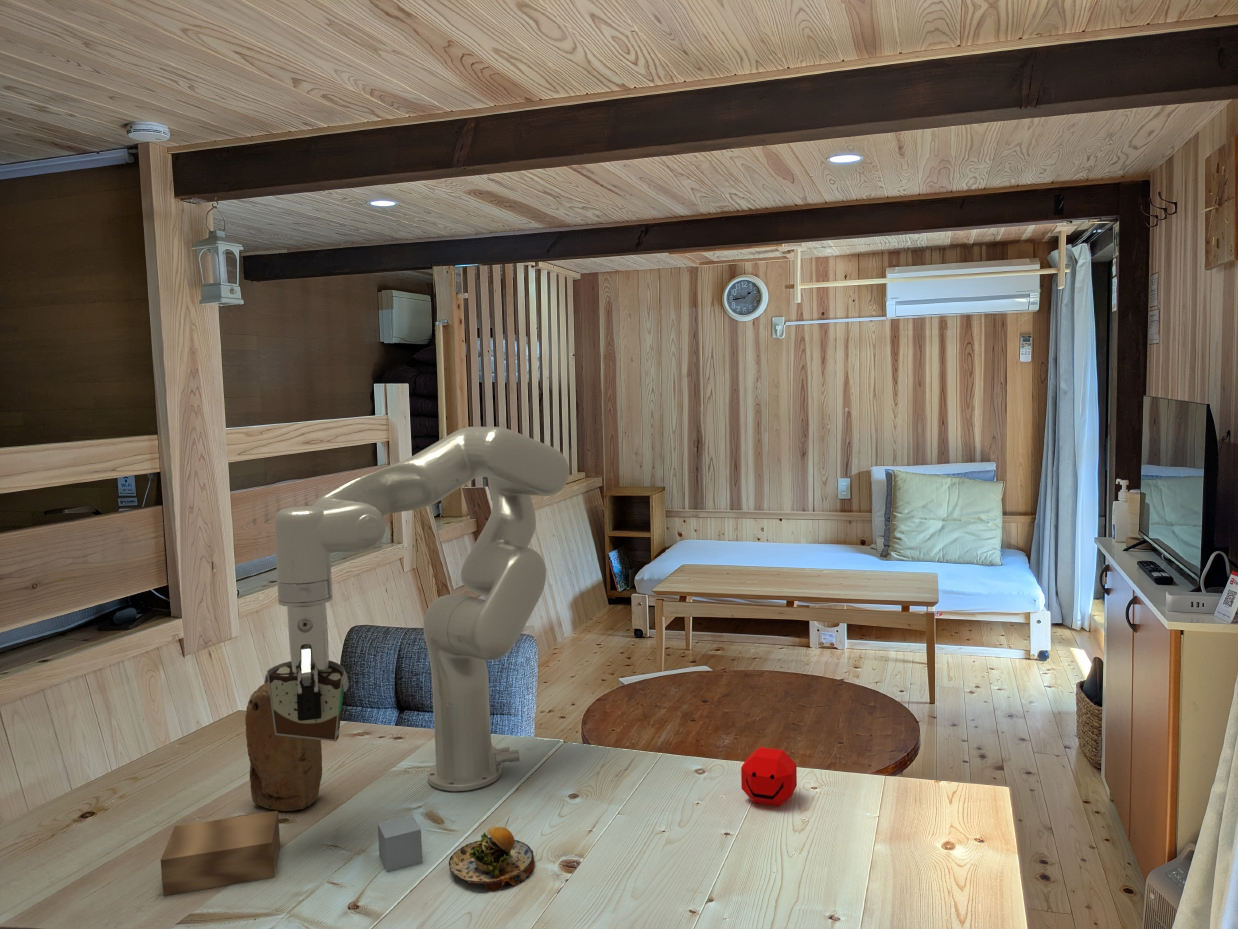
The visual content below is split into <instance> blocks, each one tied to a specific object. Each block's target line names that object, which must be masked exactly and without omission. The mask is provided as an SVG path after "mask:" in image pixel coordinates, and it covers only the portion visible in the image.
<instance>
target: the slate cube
mask: <svg viewBox="0 0 1238 929" xmlns="http://www.w3.org/2000/svg"><path fill="white" fill-rule="evenodd" d="M377 837H378V839H377V840H378V855H379V858H380V860H381V862H382V864H383V867H384V869H385V871H386V873H389V872H392V871H397V870H401V869H404V868H408V867H412V866H416V865H420V864H423V863H424V861H423V846H422V845H423V844H422V842H423V841H422V829H421V827H420V825H419V824H418V822H417V820H416V819H415V817H414V816H413V814H411V815H405V816H402V817H398V818H394V819H393V818H392V819H389V820H385V821H380V822H377Z"/></svg>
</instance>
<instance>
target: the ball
mask: <svg viewBox="0 0 1238 929" xmlns="http://www.w3.org/2000/svg"><path fill="white" fill-rule="evenodd" d="M797 772H798V771H797V763H796V762H795V761H794V760H793V759H792V758H791V756H790V755H788V753H787V752H785V750H783V749H777V748H769V747H758V748H756V750H754V751H753V752H752V753H751V754H750V755H749V756H748V757H747V758H746V759H745V761H744V762H743V764H742V766H741V767H740V776H741V778H740V780H741V790H742V791H743V792H744V794H745V795H746V796H747V797H748V798H749V799H750V800H751V801H752V802H753V803H754V804H756V805H763V806H772V807H781V806H782V805H783V804H784V803H785V802H787V801H788V800H789V799H790V798H791V797H792V796H793V794H794V792H795V791H796V789H797V785H798V783H797V782H798V776H797Z"/></svg>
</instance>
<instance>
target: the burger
mask: <svg viewBox="0 0 1238 929" xmlns="http://www.w3.org/2000/svg"><path fill="white" fill-rule="evenodd" d="M509 818H510V817H508V819H507V821H506V823H505V826H491V827H489V828H488V829H487V830H486V832H484V831H483V833H482V835H480V837H481V839H480V840H475V841H473V842H469V843H467V844H465V845H464V846H461V847H460V848H458V849H457V850H456V851H455V852H453V854H452V855H451V856H450V858H449V860H448V866H449V870H450V872H451V873H452V874H453V875H456V876H457V877H458V878H460V879H462V880H464V881H467V882H468V883H472V884H483V885H484V887H485V890H486V893H488V892H492V893H495V892H497V891H500V890H502V891H503V890H504V889H503V886H504V885H505V884H506V882H509V883H510V884H511V885H512V886H518V885H520V884H521V882H525V880H526V878H527V876H529V875H530V873H531V872H532V873H533V872H534V870H535V857H534V850H532V848H531V847H530V845H528V844H527V843H526V842H523V841H520V840H518V839H515V837H514V835H513V834H512V831H510V829H507V824H508V822H509Z"/></svg>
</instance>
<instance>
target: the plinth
mask: <svg viewBox="0 0 1238 929" xmlns="http://www.w3.org/2000/svg"><path fill="white" fill-rule="evenodd" d="M280 838H281V836H280V824H279V810H273V811H268V812H262V813H261V812H260V813H255V814H247V815H240V816H234V817H227V818H222V819H221V818H220V819H213V820H206V821H201V822H200V821H199V822H194V823H188V824H187V823H186V824H181V825H175V826H174V827H173V829H172V832H171V835H170V836H169V839H168V842H167V844H166V846H165V848H164V850H163V854H162V855H161V858H160V870H161V882H162V896H163V897H166V896H172V895H177V894H184V893H189V892H194V891H200V890H206V889H212V888H218V887H224V886H230V885H235V884H242V883H248V882H254V881H260V880H266V879H270V878H275V875H276V868H277V864H278V858H279V852H280V846H281V839H280ZM165 895H166V896H165Z"/></svg>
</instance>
